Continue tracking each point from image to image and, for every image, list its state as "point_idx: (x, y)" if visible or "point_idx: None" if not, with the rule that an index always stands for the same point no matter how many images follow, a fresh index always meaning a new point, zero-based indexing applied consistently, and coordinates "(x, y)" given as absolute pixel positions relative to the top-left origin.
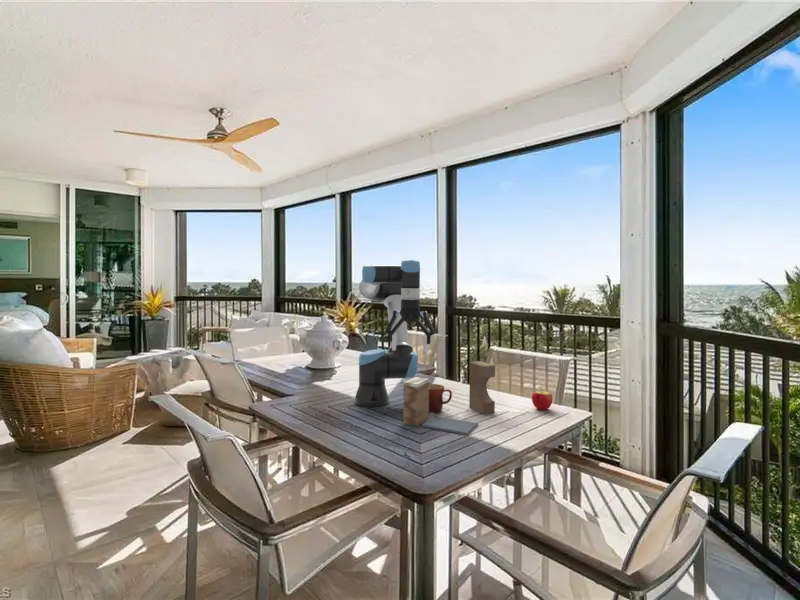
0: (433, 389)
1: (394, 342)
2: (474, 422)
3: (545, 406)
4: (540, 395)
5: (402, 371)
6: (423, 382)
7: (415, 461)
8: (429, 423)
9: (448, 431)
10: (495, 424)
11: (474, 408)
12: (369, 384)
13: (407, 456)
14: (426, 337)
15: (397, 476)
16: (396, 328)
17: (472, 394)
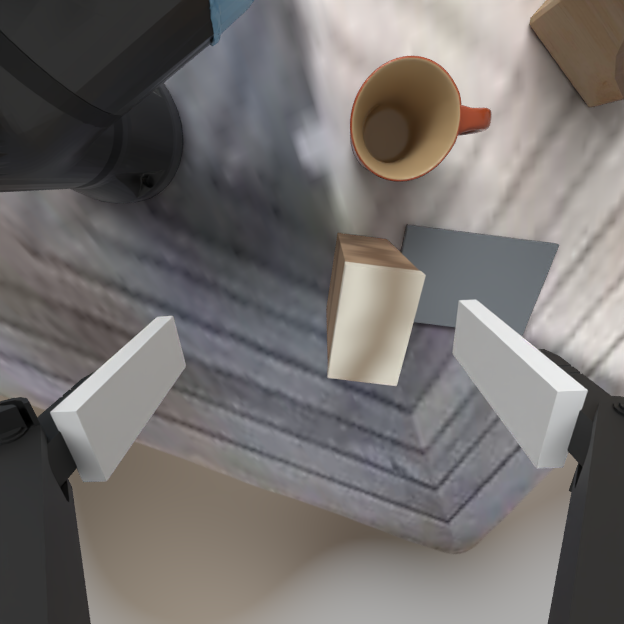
0: (412, 179)
1: (150, 396)
2: (546, 243)
3: None
4: None
5: (184, 61)
6: (408, 331)
7: (421, 483)
8: None
9: None
10: (615, 213)
11: (554, 54)
12: (83, 186)
13: (401, 471)
14: (555, 456)
15: (406, 529)
16: (79, 574)
17: (589, 15)
